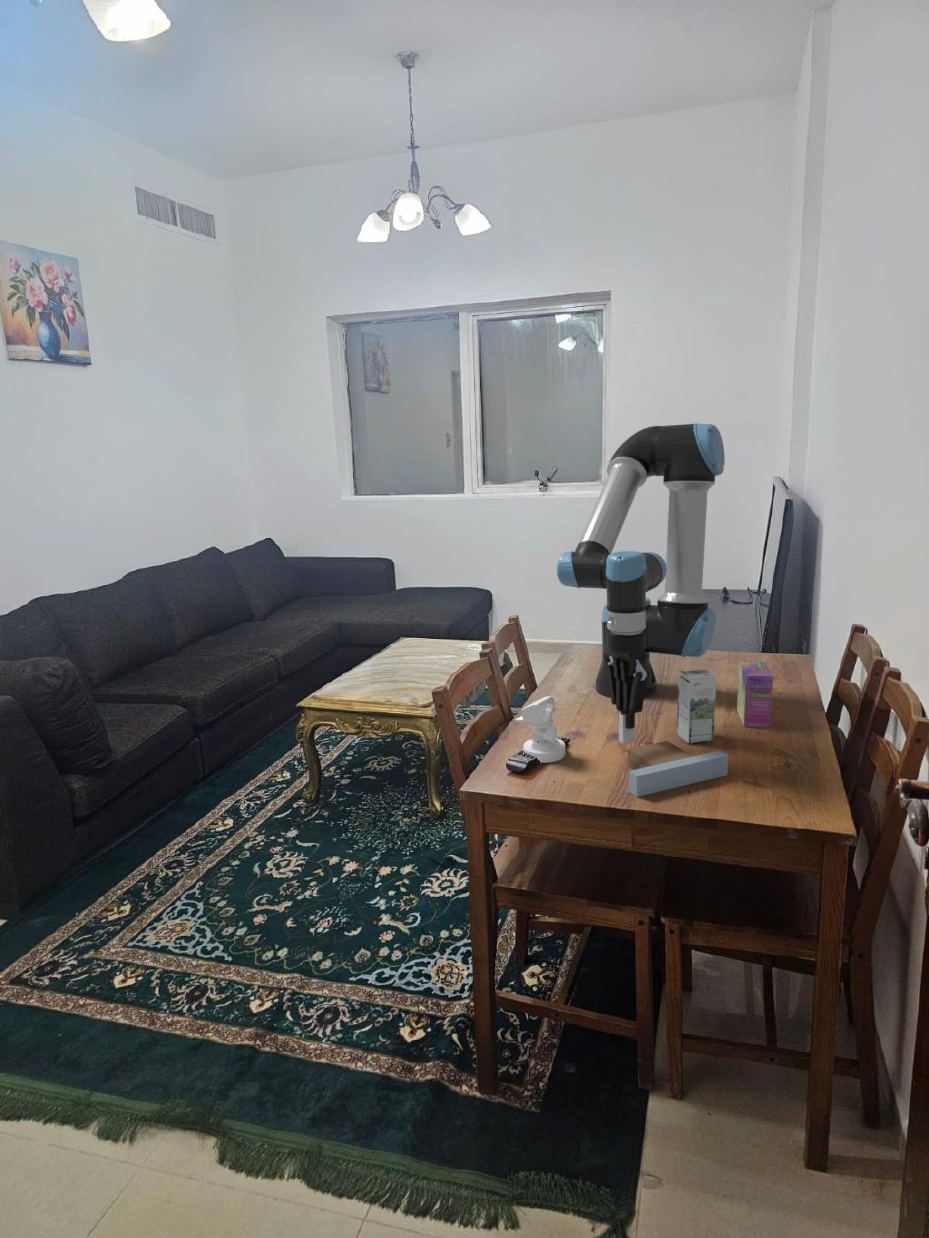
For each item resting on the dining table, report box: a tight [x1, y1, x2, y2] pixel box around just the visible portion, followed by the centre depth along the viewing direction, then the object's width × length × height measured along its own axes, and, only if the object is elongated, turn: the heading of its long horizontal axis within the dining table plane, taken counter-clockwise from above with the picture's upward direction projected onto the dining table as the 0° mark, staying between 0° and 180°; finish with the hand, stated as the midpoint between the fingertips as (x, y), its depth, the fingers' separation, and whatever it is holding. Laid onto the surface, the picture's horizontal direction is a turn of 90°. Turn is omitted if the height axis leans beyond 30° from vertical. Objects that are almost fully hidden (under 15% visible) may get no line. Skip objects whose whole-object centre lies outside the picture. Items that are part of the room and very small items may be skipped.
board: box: [628, 750, 729, 798], centre depth 142 cm, size 2×20×4 cm, turn 111°
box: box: [736, 661, 774, 729], centre depth 170 cm, size 10×6×12 cm, turn 168°
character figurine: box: [514, 695, 566, 764], centre depth 157 cm, size 9×10×12 cm
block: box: [627, 740, 694, 771], centre depth 147 cm, size 9×9×4 cm
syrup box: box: [676, 668, 717, 745], centre depth 161 cm, size 6×6×14 cm
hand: (626, 741), depth 158 cm, fingers closed
